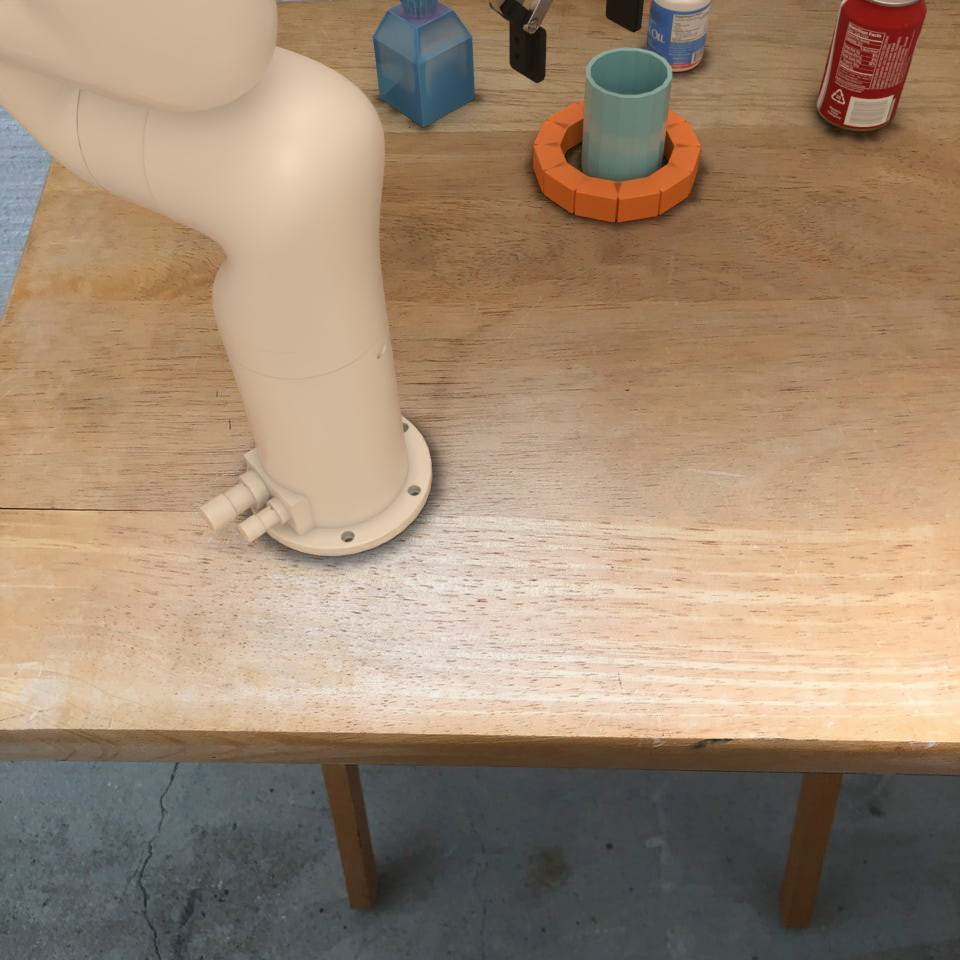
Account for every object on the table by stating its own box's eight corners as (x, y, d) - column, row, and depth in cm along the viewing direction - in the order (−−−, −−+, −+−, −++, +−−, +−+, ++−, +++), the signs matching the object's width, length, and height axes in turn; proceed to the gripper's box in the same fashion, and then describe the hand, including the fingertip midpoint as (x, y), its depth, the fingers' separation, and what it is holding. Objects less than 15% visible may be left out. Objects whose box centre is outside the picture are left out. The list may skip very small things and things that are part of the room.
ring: (616, 244, 88) (618, 221, 86) (502, 167, 95) (502, 143, 93) (728, 169, 93) (733, 146, 92) (613, 101, 100) (615, 77, 98)
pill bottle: (638, 45, 105) (647, -56, 97) (692, 37, 105) (706, -64, 98) (653, 77, 102) (664, -24, 94) (710, 69, 102) (725, -32, 94)
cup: (621, 202, 91) (629, 108, 84) (564, 164, 95) (568, 70, 87) (677, 166, 94) (690, 72, 87) (620, 131, 97) (628, 37, 90)
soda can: (893, 141, 95) (935, 11, 85) (813, 134, 96) (845, 4, 86) (892, 95, 99) (931, -35, 89) (815, 88, 100) (846, -41, 90)
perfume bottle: (380, 98, 101) (364, -28, 92) (430, 70, 104) (421, -55, 94) (423, 127, 98) (412, 0, 89) (474, 98, 101) (469, -29, 91)
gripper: (643, -263, 72) (622, -12, 86) (441, -186, 66) (453, 72, 79) (730, -231, 69) (694, 25, 82) (525, -146, 62) (523, 118, 76)
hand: (576, 48), depth 81 cm, fingers open, 9 cm apart
